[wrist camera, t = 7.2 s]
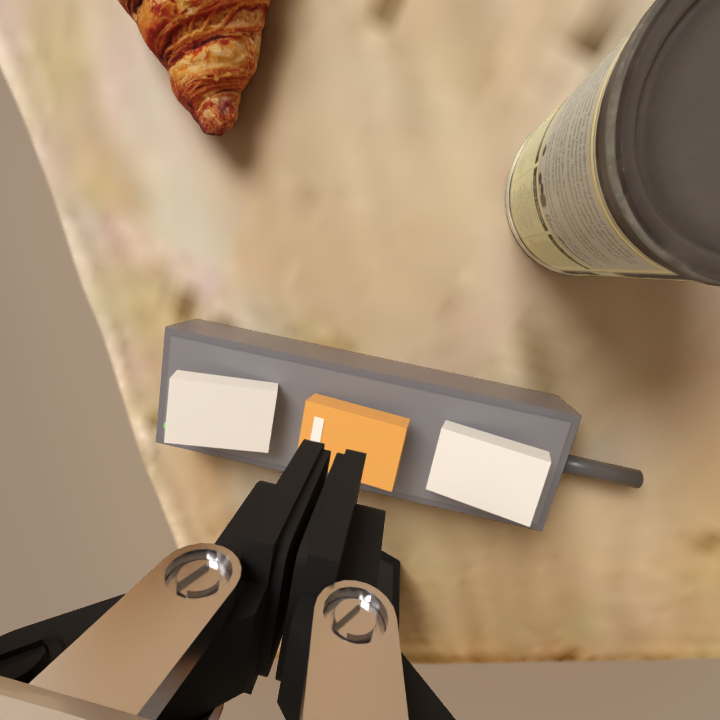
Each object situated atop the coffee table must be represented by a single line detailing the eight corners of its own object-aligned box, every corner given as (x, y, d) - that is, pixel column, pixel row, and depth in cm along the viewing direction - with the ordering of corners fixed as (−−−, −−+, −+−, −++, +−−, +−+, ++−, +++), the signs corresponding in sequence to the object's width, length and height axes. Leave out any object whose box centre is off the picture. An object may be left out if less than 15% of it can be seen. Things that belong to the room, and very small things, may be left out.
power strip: (643, 413, 28) (684, 439, 24) (604, 515, 30) (636, 555, 26) (195, 318, 30) (162, 327, 26) (185, 420, 32) (153, 444, 28)
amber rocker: (410, 418, 25) (406, 428, 23) (396, 479, 26) (391, 492, 24) (315, 393, 26) (305, 400, 24) (304, 451, 27) (294, 462, 25)
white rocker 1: (278, 383, 26) (277, 392, 25) (269, 441, 27) (268, 452, 26) (177, 369, 25) (169, 378, 24) (171, 430, 26) (164, 442, 25)
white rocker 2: (549, 451, 24) (551, 462, 22) (529, 512, 25) (529, 527, 23) (445, 419, 26) (441, 427, 24) (430, 477, 27) (425, 489, 25)
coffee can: (606, 57, 24) (868, -212, 11) (716, 191, 25) (1088, 104, 11) (468, 191, 27) (536, 114, 13) (573, 310, 27) (741, 355, 14)
